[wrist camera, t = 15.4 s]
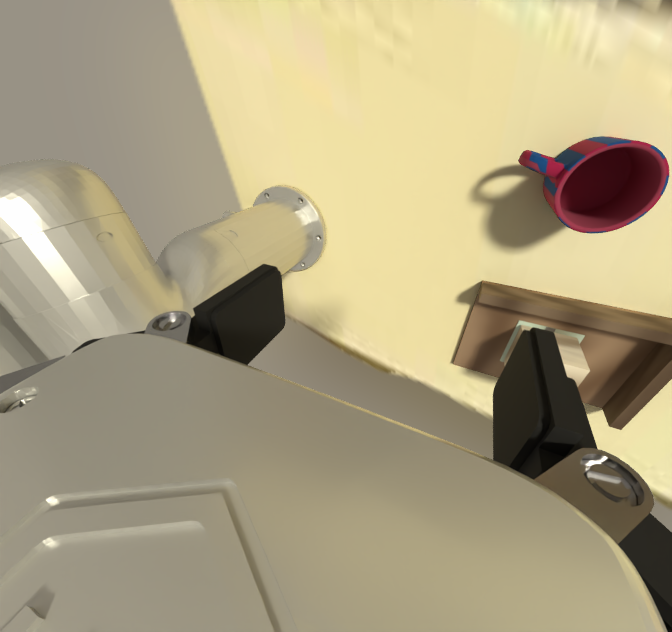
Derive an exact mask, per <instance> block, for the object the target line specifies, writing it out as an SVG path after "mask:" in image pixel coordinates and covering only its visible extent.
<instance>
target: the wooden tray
mask: <svg viewBox="0 0 672 632" xmlns="http://www.w3.org/2000/svg"><path fill="white" fill-rule="evenodd" d="M521 325H525V326H529V327H535V328H539V329H544V330H548V331H552V332H554V333H559V334H563V335H567V336H571V337H575V338H577V339H578V341H579V344H580V346H581V349H582V351H583V354H584V356H585V359H586V362H587V364H588V367H589V369H590V372H589V373H588V374H587V376H586V377H585V378H584V380H583V381H582V382H581V384H580V385H579V386H578V390H579V393H580V396H581V399H582V402H584V403H587V404H590V405H594V406H597V407H601V408H602V409H603V411H604V414H605V417H606V419H607V422H608V425H609V426H610V427H613V428H617V429H620V430H621V429H622V428H623V427H624V426H625V425H626V424H627V423H628V422H629V421H630V420H631V419H632V418H633V417H634V416H635V415H636V414H637V413H638V412H639V411H640V410H641V409H642V408H643V407H644V406H645V405H646V404H647V403H648V402H649V401H650V400H651V399H652V398H653V397H654V396H655V395H656V394H657V393H658V392H659V391H660V390H661V389H662V388H663V387H664V386H665V385H666V384H667V383H668V382H669V381H670V380H671V379H672V318H667V317H662V316H657V315H652V314H647V313H642V312H637V311H632V310H627V309H622V308H617V307H612V306H607V305H602V304H597V303H592V302H587V301H582V300H577V299H572V298H567V297H562V296H557V295H552V294H547V293H542V292H537V291H532V290H527V289H522V288H517V287H512V286H507V285H502V284H497V283H492V282H487V281H482V283H481V286H480V289H479V292H478V295H477V297H476V300H475V303H474V306H473V309H472V311H471V314H470V317H469V320H468V323H467V325H466V328H465V331H464V334H463V337H462V339H461V342H460V345H459V348H458V351H457V353H456V356H455V359H454V362H453V364H454V365H458V366H461V367H465V368H468V369H471V370H475V371H478V372H482V373H485V374H488V375H492V376H495V377H500V375H501V373H502V371H503V369H504V367H505V366H504V359H505V357H506V355H507V353H508V351H509V349H510V347H511V345H512V343H513V341H514V339H515V337H516V335H517V333H518V331H519V329H520V326H521Z"/></svg>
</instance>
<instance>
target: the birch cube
mask: <svg viewBox="0 0 672 632" xmlns="http://www.w3.org/2000/svg"><path fill="white" fill-rule="evenodd" d="M531 328H532V327H529V326H525V325H521V326H520V329H519V331H518V333H517V335H516V337H515V339H514V341H513V343H512V345H511V347H510V349H509V351H508V353H507V355H506V357H505V359H504V366H505V365H506V363H507V361H508V359H509V357H510V355H511V353H512V351H513V349H514V347H515V345H516V343H517V341H518V339H519V337H520V335H521V333H522V332H523V330H529V331H530V329H531ZM554 334H555V337H556V340H557V344H558V347H559V351H560V354H561V357H562V361H563V364H564V368H565V371H566V374H567V377H569V378H572V379H574V380H575V382H576V384H577V387H578V386H579V385H580V384H581V382H582V381H583V380H584V378H585V377H586V376H587V374H588V373H589V372H590V369H589V367H588V364H587V362H586V359H585V356H584V354H583V351H582V349H581V346H580V344H579V341H578V339H577V338H575V337H571V336H567V335H563V334H559V333H554Z"/></svg>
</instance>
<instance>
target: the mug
mask: <svg viewBox="0 0 672 632" xmlns="http://www.w3.org/2000/svg"><path fill="white" fill-rule="evenodd" d="M518 161H519V163H520V164H521V165H523V166H525V167H527V168H529V169H531V170H533V171H536V172H538V173H541V174H544V175H546V176H545V178H544V183H543V191H544V196H545V198H546V200H547V202H548V203H549V205H550V206H551V208H552V209H553V211H554V212H555V214H556V215H557V217H558V218H559V219H560V221H561V222H562V223H563V224H565V225H566V226H567V227H569V228H571V229H573V230H575V231H579V232H583V233H603V232H609V231H613V230H616V229H619V228H622V227H624V226H626V225H628V224H630V223H632V222H634V221H636V220H637V219H639V218H640V217H642V216H643V215H644V214H646V213H647V212H648V211H649V210H650V209H651V208H652V207H653V206H654V205H655V204H656V203H657V201H658V200H659V199H660V197H661V196H662V194H663V192H664V190H665V188H666V186H667V183H668V178H669V165H668V162H667V159H666V158H665V156H664V155H663V153H662V152H661V151H660V150H659V149H657V148H656V147H654V146H652V145H650V144H648V143H644V142H640V141H634V140H628V139H621V138H614V137H593V138H589V139H586V140H583V141H581V142H578V143H576V144H574V145H572V146H571V147H569V148H568V149H566V150H565V151H564V152H562V153H561V154H560V155H559V156H558V157H557V158H556V159H555V158H552V157H548V156H545V155H542V154H539V153H536V152H533V151H530V150H526V151H524V152H523V153H522V154H521V156H520V158H519V160H518Z"/></svg>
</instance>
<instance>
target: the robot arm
mask: <svg viewBox="0 0 672 632" xmlns="http://www.w3.org/2000/svg"><path fill="white" fill-rule="evenodd" d="M302 199H303V200H302ZM320 236H321V237H320ZM325 244H326V230H325V224H324V221H323V218H322V216H321V214H320V211H319V209H318V208H317V207H316V205H315V204H314V202H313V201H312V200H311V199H310V198H309V197H308V196H307V195H306V194H304V193H303V192H302V191H300V190H298V189H296V188H294V187H290V186H286V185H278V186H274V187H271V188H268V189H266V190H264V191H263V192H262V193H260V195H259V196H258V197H257V198H256V200H255V202H254V204H253V207H251V208H248V209H246V210H243V211H240V212H231V211H225V212H224V213H223V218H221V219H218V220H216V221H213V222H210V223H207V224H205V225H202V226H199V227H196V228H193V229H191V230H188V231H186V232H183V233H181V234H180V235H178V236H177V237H175V238H174V239H173V240H171V241H170V242H169V244H167V246H166V247H165V248H164V250H163V251H162V252H161V254H160V256H159V257H158V260H157V261H156V262H155V261H154V259H153V257H152V256H151V254H150V252H149V250H148V249H147V247H146V245H145V244H144V242H143V240H142V239H141V237H140V235H139V233H138V232H137V230H136V228H135V227H134V225H133V223H132V221H131V220H130V218H129V216H128V215H127V213H126V212H125V210H124V209H123V207H122V205H121V204H120V202H119V200H118V199H117V197H116V196H115V194H114V193H113V191H112V190H111V189H110V187H109V186H108V185H107V184H106V183H105V181H104V180H103V179H102V178H100V177H99V176H98V175H97V174H96V173H95V172H93V171H92V170H90V169H89V168H87V167H84V166H82V165H80V164H78V163H74V162H70V161H66V160H56V159H40V160H30V161H22V162H16V163H11V164H6V165H1V166H0V632H672V532H670V531H669V530H668V529H667V528H666V527H665V526H664V525H663V524H662V523H660V522H659V521H658V520H657V519H656V518H654V516H652V515H651V514H650V512H651V511H652V509H653V507H654V498H653V494H652V492H651V490H650V488H649V486H648V485H647V483H646V482H645V481H644V480H643V479H642V477H641V476H640V475H639V474H638V473H637V472H636V471H635V470H634V469H632V468H631V467H630V466H629V465H628V464H626V463H625V462H623V461H622V460H620V459H619V458H617V457H616V456H614V455H611V454H609V453H607V452H605V451H602V450H598V449H597V446H596V443H595V440H594V437H593V434H592V431H591V427H590V424H589V421H588V418H587V415H586V412H585V409H584V406H583V403H582V399H581V396H580V393H579V390H578V387H577V384H576V382H575V380H574V379H572V378H569V377H567V374H566V371H565V368H564V364H563V361H562V357H561V354H560V351H559V347H558V344H557V340H556V337H555V334H554V332H552V331H548V330H544V329H539V328H535V327H532V328H531V329H530V331H529V330H523V332H522V333H521V335H520V337H519V339H518V341H517V343H516V345H515V347H514V349H513V351H512V353H511V355H510V357H509V359H508V361H507V363H506V365H505V367H504V369H503V371H502V373H501V375H500V377H499V379H498V381H497V383H496V385H495V388H494V392H493V450H494V451H493V454H494V455H493V457H494V458H493V460H492V459H489V458H487V457H485V456H482V455H480V454H477V453H475V452H473V451H471V450H468V449H466V448H463V447H461V446H458V445H456V444H453V443H451V442H448V441H446V440H443V439H440V438H438V437H435V436H433V435H430V434H428V433H425V432H423V431H420V430H418V429H415V428H412V427H410V426H407V425H405V424H402V423H399V422H397V421H394V420H391V419H389V418H386V417H383V416H381V415H378V414H376V413H373V412H371V411H368V410H365V409H363V408H360V407H357V406H355V405H352V404H350V403H347V402H344V401H342V400H339V399H336V398H333V397H331V396H328V395H326V394H323V393H320V392H318V391H315V390H312V389H310V388H307V387H305V386H301V385H299V384H296V383H294V382H291V381H289V380H286V379H283V378H281V377H278V376H275V375H272V374H270V373H267V372H264V371H262V370H259V369H256V368H254V367H251V366H248V364H249V362H250V361H251V360H253V358H255V356H256V355H258V353H260V351H261V350H262V349H263V348H264V347H265V346H266V345H267V344H268V343H269V342H270V341H271V340H272V339H273V338H274V337H275V336H276V335H277V334H278V333H279V332H280V331H281V330H282V329H283V328H284V326H285V312H284V301H283V289H282V278H281V275H283V274H284V273H285V272H287V271H288V270H293V271H299V270H304V269H307V268H309V267H310V266H312V265H313V264H314V263H316V262H317V261H318V259H319V258H320V257H321V255H322V253H323V251H324V248H325Z"/></svg>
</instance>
